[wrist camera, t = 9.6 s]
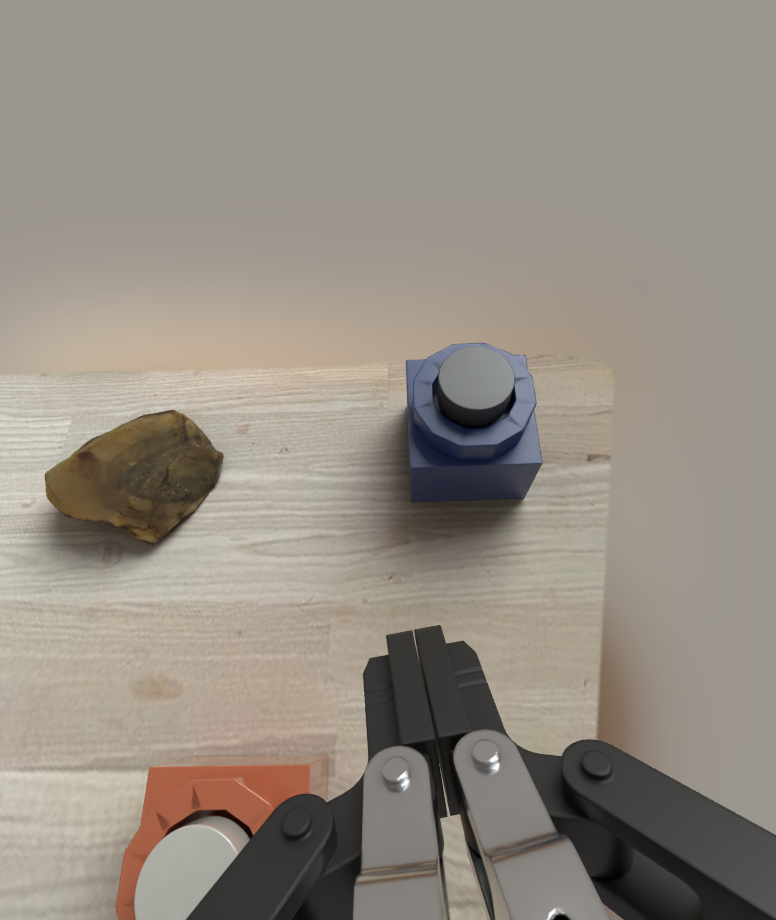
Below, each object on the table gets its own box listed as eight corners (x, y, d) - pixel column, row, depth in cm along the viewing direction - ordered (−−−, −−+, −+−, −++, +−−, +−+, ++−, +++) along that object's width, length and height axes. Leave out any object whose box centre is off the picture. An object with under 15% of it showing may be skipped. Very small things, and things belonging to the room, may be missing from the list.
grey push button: (505, 364, 33) (510, 344, 31) (513, 426, 31) (519, 408, 29) (434, 367, 33) (436, 347, 31) (439, 428, 31) (440, 411, 30)
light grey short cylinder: (262, 814, 24) (248, 824, 22) (253, 941, 22) (237, 963, 20) (165, 816, 24) (143, 825, 22) (148, 942, 22) (123, 964, 20)
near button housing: (510, 401, 41) (531, 335, 33) (524, 498, 37) (550, 448, 30) (407, 405, 41) (405, 341, 34) (411, 502, 38) (409, 454, 30)
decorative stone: (164, 400, 42) (144, 375, 39) (243, 466, 39) (228, 445, 36) (55, 494, 39) (23, 475, 36) (132, 574, 36) (104, 561, 33)
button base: (328, 754, 31) (301, 768, 24) (324, 927, 28) (291, 1006, 20) (195, 756, 31) (128, 771, 24) (174, 928, 28) (90, 1005, 21)
